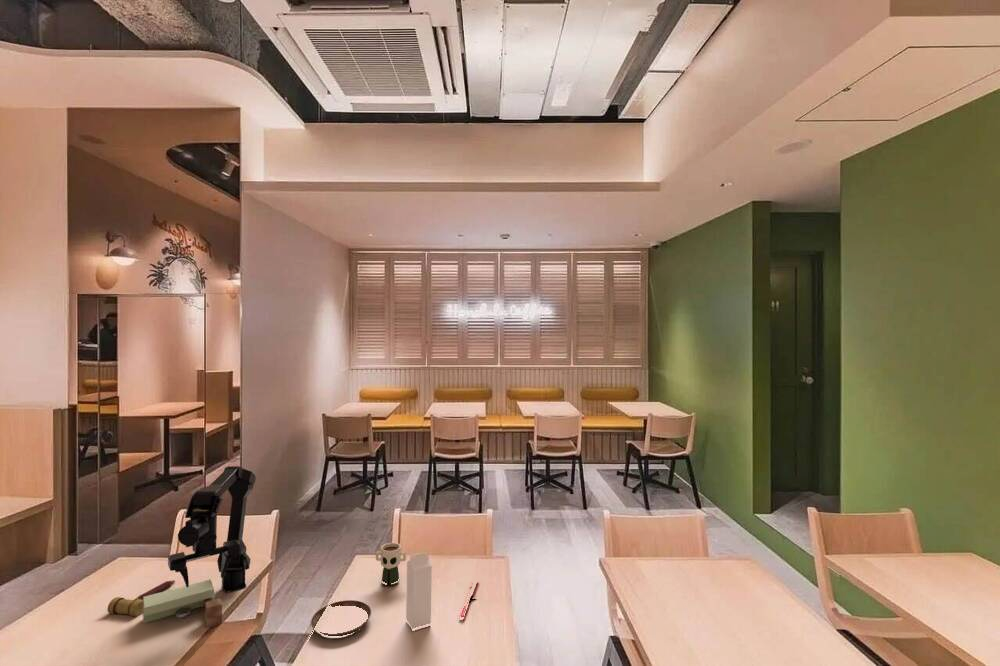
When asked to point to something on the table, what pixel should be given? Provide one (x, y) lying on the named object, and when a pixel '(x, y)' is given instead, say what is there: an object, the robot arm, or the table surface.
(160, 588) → the gavel
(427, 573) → the milk
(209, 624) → the pusher tool
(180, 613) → the token
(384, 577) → the character mug
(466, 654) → the table surface
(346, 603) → the plant saucer
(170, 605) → the plinth shelf
